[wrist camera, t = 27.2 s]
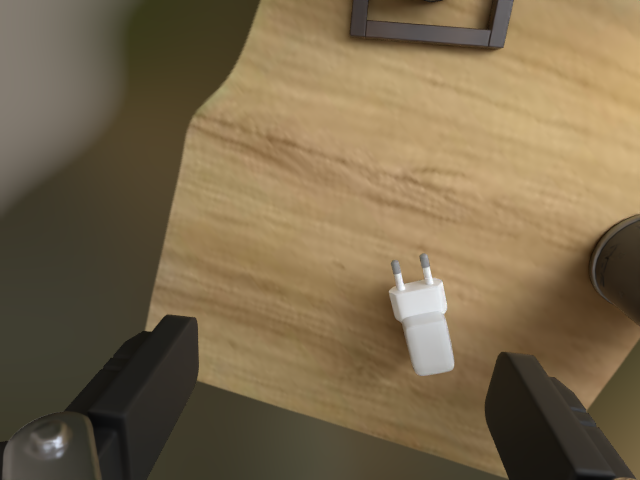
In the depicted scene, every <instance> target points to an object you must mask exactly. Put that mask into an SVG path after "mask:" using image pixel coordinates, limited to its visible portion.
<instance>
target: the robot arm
mask: <svg viewBox="0 0 640 480" xmlns="http://www.w3.org/2000/svg"><path fill="white" fill-rule="evenodd" d="M589 273H590V279H591V282H592V284H593V286H594V288H595V289H596V291H597V292H598V293H599V294H600V295H601V296H602V297H603V298H605V299H606V300H607V301H609V302H610V303H612V304H614V305H615V306H616V307H617V308H619V309H620V310H621V311H622V312H623V313H625V315H627V316H628V317H629V318H630V319H631V320H633V321H634V322H635V323H636V324H637V325H639V326H640V215H636V216H633V217H631V218H628V219H626V220H624V221H622V222H621V223H619V224H617V225H616V226H614V227H613V228H612V229H611V230H609V231H608V232H607V233H606V234H605V235H604V236H603V237H602V239H601V240H600V241H599V243H598V244H597V246H596V247H595V249H594V251H593V254H592V256H591V260H590V266H589ZM198 370H199V356H198V324H197V320H196V318H195V317H186V316H177V315H165V316H164V317H163V319H162V320H161V321H160V322H159V324H158V325H157V326H156V327H155V328H154V330H153V331H152V332H148V331H142V332H141V333H139V334H137V335H136V336H134V337H132V338H131V339H129V340H127V341H126V342H125V343H124V344H123V345H122V346H121V347H120V349H119V350H118V351H117V352H116V353H115V354H114V357H113V358H110V360H109V361H108V362H107V363H106V364H105V365H104V368H103V369H101V370H100V371H99V372H98V373H97V374H96V375H95V377H94V378H93V379H92V380H91V381H90V382H89V383H88V384H87V386H86V387H85V388H84V389H83V390H82V391H81V392H80V393H79V395H78V396H77V397H76V398H75V399H74V400H73V402H72V403H71V404H70V405H69V406H68V407H67V408H66V409H65V411H64V412H56V413H52V414H48V415H45V416H43V417H40V418H38V419H36V420H34V421H32V422H30V423H28V424H27V425H25V426H24V427H23V428H21V429H20V430H19V431H17V432H16V433H15V434H14V435H13V436H12V438H11V439H10V440H9V441H5V442H0V480H147V478H148V476H149V474H150V472H151V470H152V468H153V466H154V464H155V462H156V460H157V459H158V456H159V455H160V453H161V451H162V449H163V447H164V445H165V443H166V441H167V439H168V437H169V435H170V434H171V432H172V430H173V428H174V426H175V424H176V422H177V420H178V418H179V416H180V414H181V412H182V410H183V408H184V406H185V405H186V403H187V401H188V399H189V397H190V395H191V393H192V391H193V389H194V387H195V384H196V381H197V376H198ZM485 417H486V422H487V425H488V428H489V430H490V433H491V435H492V438H493V440H494V443H495V445H496V448H497V450H498V453H499V455H500V458H501V460H502V463H503V465H504V468H505V470H506V473H507V475H508V478H509V480H637V479H636V478H635V476H634V475H633V474H632V472H631V471H630V469H629V468H628V467H627V466H626V464H625V463H624V461H623V460H622V459H621V457H620V456H619V454H618V453H617V452H616V450H615V449H614V448H613V446H612V445H611V443H610V442H609V441H608V439H607V438H606V436H605V435H604V434H603V432H602V431H601V430H600V428H599V427H596V423H595V421H594V420H593V419H592V417H591V416H590V415H589V413H586V409H585V408H584V406H583V405H582V403H581V402H580V401H579V399H578V398H577V397H576V395H575V394H574V393H573V392H572V391H571V390H570V389H568V388H567V387H566V386H565V385H564V384H562V383H561V382H560V381H559V380H557V379H556V378H555V377H549V376H548V375H547V373H546V372H545V371H544V369H543V368H542V366H541V365H540V363H539V362H538V360H537V359H536V358H535V357H534V356H533V355H528V354H519V353H510V352H501V353H500V354H499V355H498V357H497V360H496V364H495V367H494V371H493V374H492V378H491V382H490V385H489V389H488V392H487V396H486V400H485Z"/></svg>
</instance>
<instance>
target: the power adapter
mask: <svg viewBox="0 0 640 480" xmlns="http://www.w3.org/2000/svg"><path fill="white" fill-rule="evenodd" d="M420 261H421V266H422V269H423V273H424V280H419V281H415V282H410V283H405V284H404V282H403V280H402V275H401V270H400V265H399V262H398V261H397V260H393V261H392V262H391V266H392V270H393V274H394V277H395V281H396V286H394V287H392V288H391V289H390V290H389V295H390V299H391V303H392V307H393V311H394V315H395V318H396V319H397V320H398V321H399V322H401V323H402V326H403V330H404V334H405V339H406V343H407V347H408V351H409V355H410V359H411V362H412V366H413V369H414V371H415V372H416V374H418V375H420V376H426V375H432V374H438V373H443V372H447V371H451V370H452V369H453V368H454V356H453V350H452V345H451V340H450V335H449V331H448V326H447V322H446V319H445V316H444V314H445V312H446V310H447V302H446V297H445V292H444V287H443V282H442V280H441V279H437V278H432V275H431V271H430V264H429V260H428V255H427V254H425V253H423V254H421V255H420Z"/></svg>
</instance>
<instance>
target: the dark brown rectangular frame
mask: <svg viewBox="0 0 640 480" xmlns="http://www.w3.org/2000/svg"><path fill="white" fill-rule="evenodd" d="M513 1H514V0H493V5H492V10H491V15H490V20H489V25H488V30H486V29H474V28H461V27H448V26H436V25H423V24H411V23H398V22H386V21H373V20H367V12H368V3H369V0H353V6H352V16H351V27H350V37H352V38H364V37H365V39H377V40H389V41H401V42H414V43H426V44H438V45H451V46H463V47H475V48H488V49H501V48H503V47H504V43H505V38H506V34H507V29H508V24H509V20H510V15H511V11H512V6H513Z"/></svg>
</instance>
